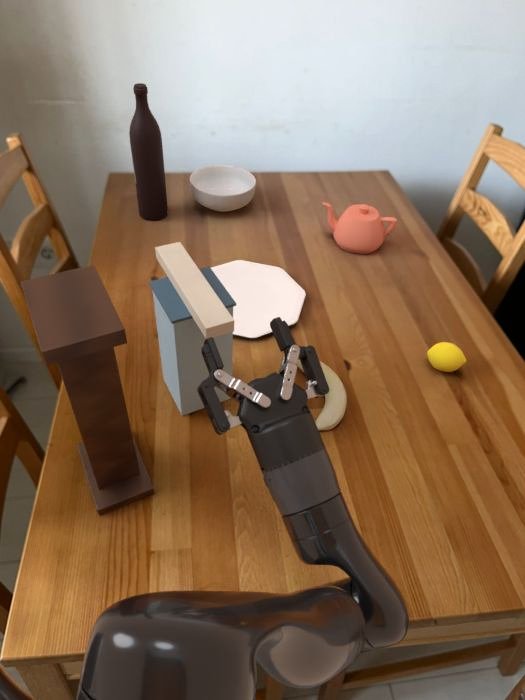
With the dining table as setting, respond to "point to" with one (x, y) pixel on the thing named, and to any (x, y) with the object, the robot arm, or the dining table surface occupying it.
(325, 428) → the fruit
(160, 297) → the container
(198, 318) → the slat
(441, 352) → the lemon
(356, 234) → the teapot
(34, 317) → the stand
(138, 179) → the wine bottle
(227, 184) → the cereal bowl
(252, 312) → the plate
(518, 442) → the dining table surface
